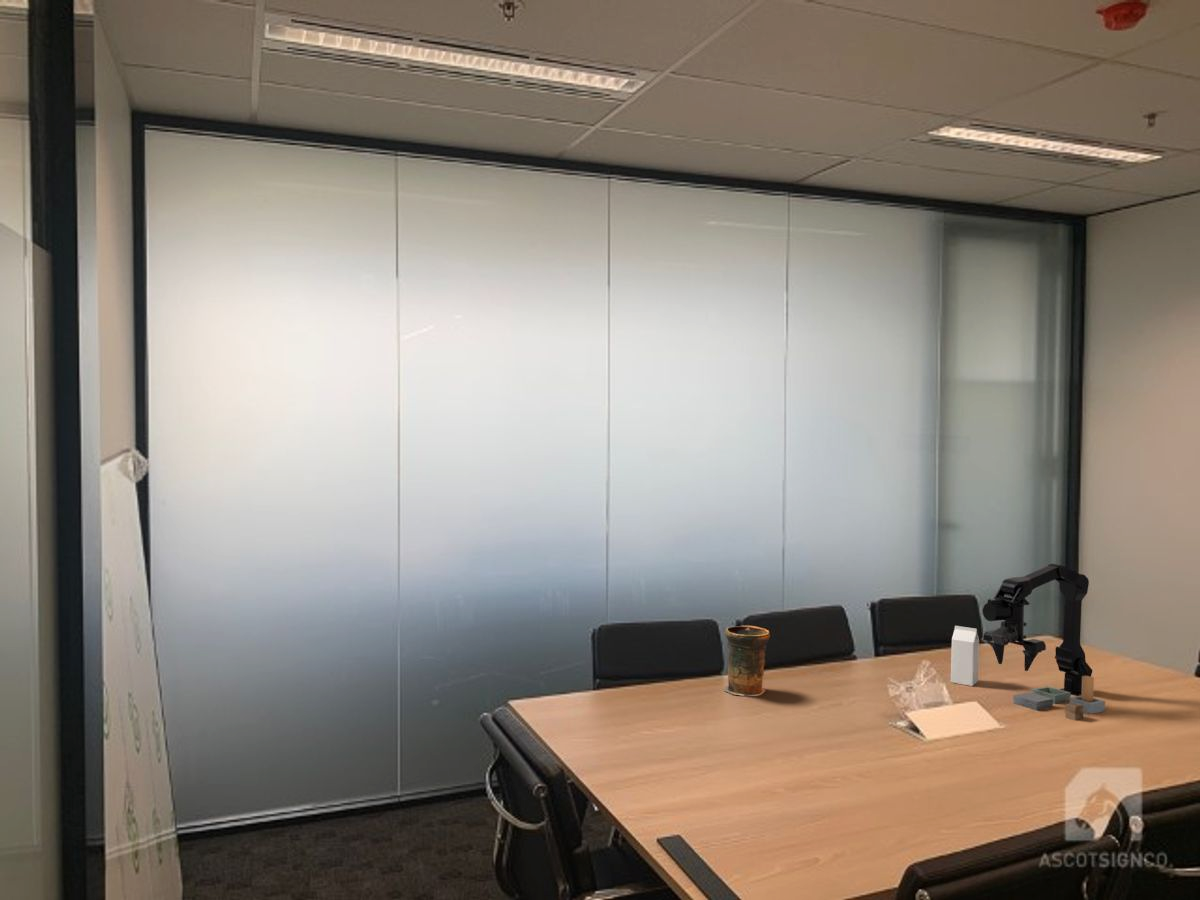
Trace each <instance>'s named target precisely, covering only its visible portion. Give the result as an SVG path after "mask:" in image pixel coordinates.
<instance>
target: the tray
mask: <svg viewBox="0 0 1200 900" xmlns="http://www.w3.org/2000/svg"><path fill="white" fill-rule="evenodd" d="M1031 693H1035V694H1038V695H1041V696H1045V697H1048V698H1052V699H1053V705H1054V704H1059V703H1064V702H1069V701H1070V698H1071V695H1072V694H1071V693H1070V692H1067V691H1063V690H1060V689H1058V688H1055V687H1053V686H1049V685H1046V686H1041V687H1036V688H1031Z"/></svg>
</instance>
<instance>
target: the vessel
mask: <svg viewBox="0 0 1200 900" xmlns="http://www.w3.org/2000/svg"><path fill="white" fill-rule="evenodd" d="M724 635H725V637H726V639H727V649H728V659H727V664H728V666H727V667H728V670H727V681H728V685H727V686H724V690H723V691H725V692H728V693H729V694H731V695H735V696H737V695H738V696H741V697H742V696H749V697H759V696H761V695H762V694H764V693H765V692H766V691H767V690H766V688H763V679H764V675H765V671H764V669H765V664H766V660H765V657H766V650H767V643H768V642H769V640H770V639H771V635H770V631H769V629H768V630H767V629H766V628H763V627H759V626H754V625H740V626H739V625H737V626H729V627H726V628H725V634H724Z"/></svg>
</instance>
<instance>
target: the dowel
mask: <svg viewBox="0 0 1200 900" xmlns="http://www.w3.org/2000/svg"><path fill="white" fill-rule="evenodd" d="M1094 680H1095V678H1094V676H1092V675H1091V676H1082V695H1080V696H1081V700H1083V701H1086V702H1090V703H1091V702H1093V698H1094V686H1095V683H1094Z"/></svg>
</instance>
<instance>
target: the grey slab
mask: <svg viewBox="0 0 1200 900" xmlns="http://www.w3.org/2000/svg"><path fill="white" fill-rule="evenodd" d="M1012 698H1013V701H1012V702H1013V704H1014V705H1017V706H1020V707H1023V708H1027V709H1030V710H1034V711H1037V712H1038V711H1041V710H1047V709H1052V708H1053V707H1054V703H1053V699H1052V698H1048V697H1045V696H1041V695H1038V694H1035V693H1032V691H1031V692H1030V691H1028V692H1023V693H1019V694H1018V693H1017V694H1013V697H1012Z"/></svg>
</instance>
